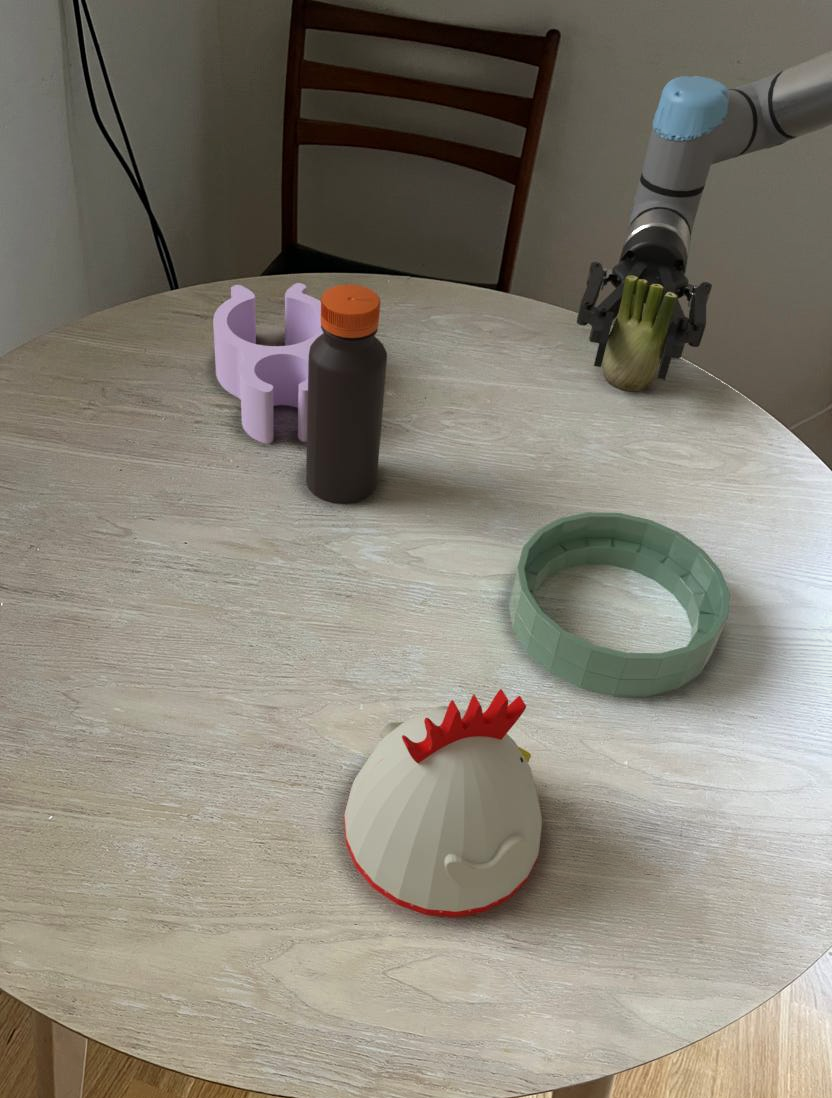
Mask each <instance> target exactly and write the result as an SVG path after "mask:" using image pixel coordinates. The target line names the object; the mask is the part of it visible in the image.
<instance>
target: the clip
mask: <svg viewBox="0 0 832 1098" xmlns="http://www.w3.org/2000/svg"><path fill="white" fill-rule="evenodd" d="M256 321H257V320H256V295H255V294H254V293H253V291H252V290H250V289H249V288H246V287H245V286H243V285H241V284H235V285H232V286H231V287H230V298H229V299H227V300H225V301H224V302H223V303H221V304H220V305H219V306H218V307H217V309H216V310H215V312H214V315H213V319H212V322H213V323H212V325H213V341H214V343H213V344H214V345H213V346H214V360H215V362H214V363H215V364H214V365H215V375H216V379H217V381H218V383H219V384H220V385H221V387H222V388H223V389H224V390H225V391H226V392H228V393H229V394H231V395H232V396H234V397H236V398H238V399H239V400H240V413H241V427H242V428H243V430H244V432H245V433H246V434H247V436H249V437H251V438H252V439H254V440H255V441H258V442H259V443H262V444H265V445H266V444H267V445H268V444H269V445H270V444H272V443H273V441H274V439H275V438H274V436H275V435H274V406H290V407H295V408H297V438H298V440H299V441H300V442H302V443H307V410H308V360H309V350H310V346H311V345H312V343H313V342H314V341H315V340H316V339H317V338H318V337H319V336H320V335H322V334H323V331H322V329H321V300H319V299H317V298H315V297H313V296H311V295H308V294H307V285H306V284H304V283H301V282H296V283H294V284H292V285H291V286H290V287H288V289H287V290H286V291H285V293H284V345H279V346H277V345H273V346H272V345H263V344H257V328H256V327H257V322H256Z"/></svg>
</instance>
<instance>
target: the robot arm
mask: <svg viewBox="0 0 832 1098" xmlns="http://www.w3.org/2000/svg"><path fill="white" fill-rule="evenodd" d="M829 127H832V50H830V51H828V52H825V53H823V54H821V55H818V56H815V57H813V58H811V59H808V60H806V61H804V62H801V63H799V64H796V65H793V66H792V67H789V68H787V69H783V70H781V71H777V72H775V73H772V74H770V75H768V76H766V77H763V78H761V79H758V80H755V81H753V82H749V83H747V84H743V85H740V86H737V87H733V88H729V89H728V87H727V86H726V85H725V84H724V83H722V82H720V81H717V80H716V79H713V78H710V77H707V76H700V75H694V76H687V75H684V76H677V77H674V78H673V79H671V80H669V81H668V82H667V83H666V85H664V86H663V89H662V91H661V95H660V99H659V102H658V105H657V109H656V110H655V113H654V116H653V118H652V126H651V131H650V136H649V140H648V144H647V148H646V153H645V157H644V161H643V165H642V170H641V174H640V177H639V181H638V184H637V189H636V193H635V196H634V199H633V203H632V207H631V210H630V218H629V223H628V227H627V230H626V232H625V236H624V241H623V244H622V249H621V253H620V256H619V260H618V264H616V265H614V266H613V267H612V269H609V268H608V269H607V268H605V267H603V265H602V263H601V262H598V261H592V262H591V263H590V265H589V266H590V267H589V270H588V274H587V280H586V288H585V291H584V293H583V296H582V298H581V299H580V304H579V310H578V313H577V318H576V324H578V325H579V326H587V325H590V327H591V328H590V334H589V338H588V340H589V342H590V343H595V344H598V346H597V350H596V355H595V358H594V363H593V367H596V368H597V367H598V368H602V361H603V357H604V353H605V349H606V345H607V341H608V337H609V334H610V332H611V330H612V324H613V321H614V320H616V318H617V315H618V313H619V309H620V304H621V300H622V296H623V290H624V285H625V278H626V277H627V276H636V277H638V278H639V279H644V280H646V281H648V284H647V291H646V295H645V301H644V305H646V301H647V296H648V293H649V289H650V286H651V285H652V284H660V285H661V286H662V287H663V292H662V296H661V300H660V304H659V308H658V312H659V309H660V306H661V304H662V302H663V299H664V296H665V295H666V293H668V292H672V293H674V294H675V295H677V297H678V298H677V301H676V304H675V307H674V310H673V313H672V316H671V319H670V322H669V326H668V331H667V334H666V340H665V345H664V349H663V353H662V356H661V360H660V363H659V366H658V373H657V380H663V381H664V380H666V377H667V375H668V370H669V368H670V365H671V360H672V359H676V360H679V359H680V358H682V355H683V351H684V348H685V345H686V344H688V345H689V346H690V347H693V348H698V347H700V345H701V342H702V339H703V335H704V333H705V329H706V326H707V302H708V300H709V297H710V294H711V291H712V287H713V284H712V283H710V282H707V281H704V282H703V281H702V282H701V283H700V284H699V285H697V284H694V285H693V284H691V283H690V282H689V278H688V277H687V276H686V272H687V265H688V258H689V253H690V246H691V245H690V244H691V240H692V239H691V237H692V233H693V228H694V224H695V220H696V216H697V214H698V210H699V206H700V203H701V199H702V196H703V193H704V189H705V186H706V183H707V179H708V176H709V173H710V169H711V166H712V165H715V164H719V163H721V162H725V161H728V160H731V159H734V158H738V157H740V156H744V155H747V154H751V153H754V152H758V151H762V150H765V149H771V148H774V147H777V146H782V145H783V144H785V143H788V142H789V141H792V140H794V139H796V138H798V137H802V136H805V135H808V134H810V133H814V132H816V131H820V130H823V129H826V128H829ZM639 279H638V280H639ZM609 282H610V283H611V285H612V286H613V287H614V288H615V289H614V290H613V291H611V293H609V295H608V296H607V297H605V298H604V299H603V301H601V302H600V304H599V305H597V306H596V303H597V302H598V299H599V296H600V293H601V291H603V290H604V288H605V287H604V286H607V285H608V283H609ZM684 296H685V297H686V300H687V307H689V311H688V317H687V316H686V315H685V313H684V310H683V308H682V305H681V304H680V301H679V299H681V298H682V297H684ZM657 314H658V313H657Z"/></svg>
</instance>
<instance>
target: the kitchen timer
mask: <svg viewBox="0 0 832 1098" xmlns="http://www.w3.org/2000/svg"><path fill="white" fill-rule="evenodd" d="M526 708H527V704H526V703H525V701H524V700H523V699H522V696H521V695H518V696H517V697H516V698H515V699H514V700H513V701H511V702H510V704H509V699H508V697H507V695H506V694H505V692H504V691H503V689H502V688H500V689H499V690H498V691H497V692H496V694H495V696H494V697H493V699H492V700H491V702H490V704H489V705H488V707H487V709H486V710H485V711H484V712H483V707H482V704H481V703H480V701H479V700H478V698H477V696H476V695H475V694H473V695H471V698H470V701H469V703H468V705H467V708H466V709H459V708H458V706H457V705H456V702H455V701H454V699H451V700H450V702H449V704H448V705H437V706H433V707H431V708H429V709H428V710H426V711H425V712H423V713H421V714H420V715H417V716H413V717H412V718H409V719H407V720H404V721H396V722H388V723H385V725H383V726H382V727H381V729H380V730H379V737H380V738H381V740H380V741H379V743H377V746H376V747H375V748H374V750H373V751H372V752H371V754H370V755H369V757H368V758H367V760H366V761H365V763H364V765H363V766H362V767H361V769H360V770H359V772H358V773H357V775H356V777H355V778H354V781H352V784H351V788H350V791H349V795H348V798H347V799H348V800H347V803H346V808H345V811H344V817H343V818H344V819H343V822H344V823H343V824H344V825H343V826H344V837H345V845H346V848H347V851H348V853H349V855H350V857H351V860H352V862H353V864H354V866H355V868H356V870H357V871H358V872H359V873H360V874H361V876H362V877H363V878H364V879H365V880H366V881H367V882H368V884H369V885H370V886H371V888H373V889H374V890H375V891H376V892H378V893H379V894H381V895H382V896H384V897H385V898H387V899H388V900H390V902H393V903H394V904H396V905H397V906H400V907H403V908H405V909H408V910H411V911H414V912H416V913H420V914H422V915H425V916H436V917H448V918H459V917H463V916H464V917H465V916H470V915H475V914H480V913H484V912H486V911H488V910H490V909H493V908H495V907H496V906H498V905H500V904H502V903H505V902H507V901H509V899H510V898H511V897H512V896H513V895H514V894H515V893H517V891H519V890H520V889H521V888H522V887H523V886H524V885H525V884H526V882H527V881H528V879H529V876H530V875H531V873H532V870H533V869H534V866H535V865H536V862H537V860H538V857H539V854H540V853H539V852H540V846H541V845H540V844H541V836H542V827H543V818H542V817H543V816H542V810H541V806H540V801H539V797H538V792H537V789H536V783H535V779H534V775H533V771H532V768H531V766H530V763H529V762H530V760H531V757H532V753H530V752H529V751H527V750H526V749H524V748H522V747H520V746H519V745H518V743H516V741H515V740H514V739H513V738H512V737H511V736H510V735H509V734H508V733H509V731H511V729H512V728H513V726H514V725H515V724H517V722H518V720H519V719H520V718H521V716H522V715H523V713H524V712H525V710H526Z"/></svg>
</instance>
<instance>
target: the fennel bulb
mask: <svg viewBox="0 0 832 1098" xmlns="http://www.w3.org/2000/svg"><path fill="white" fill-rule="evenodd" d="M638 279H639V278H638V277H636V276H627V277H626V278H625V285H624V290H623V296H622V300H621V304H620V309H619V313H618V315H617V317H616V318H615V321H614V323H613V326H612V327H611V329H610V333H609V337H608V341H607V345H606V349H605V353H604V357H603V361H602V365H601V368H602V373H603V378H604V380H605V381H606V382H607V384H609V385H611V386H612V387H613V388H615V389H618V390H621V391H624V392H641V391H643V390H644V389H645V388H646V387H647V385H648V384H649V383H650V382H651V381H652V380H653V378H654V376H655V375H656V373H657V370H658V368H659V366H660V361H661V356H662V353H663V349H664V345H665V340H666V334H667V331H668V326H669V322H670V319H671V316H672V313H673V310H674V307H675V304H676V301H677V298H678V297H677V295H675V294H674V293H672V292H668V293H666V295H665V296H664V299H663V302H662V304H661V306H660V309H659V312H658V308H659V304H660V300H661V296H662V292H663V287H662V286H661V285H660V284H652V285H651V286H650V289H649V293H648V296H647V301H646V304H645V303H644V301H645V295H646V291H647V284H648V281H646V280H644V279H639V280H638ZM678 299H679V298H678ZM657 313H658V314H657Z"/></svg>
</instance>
